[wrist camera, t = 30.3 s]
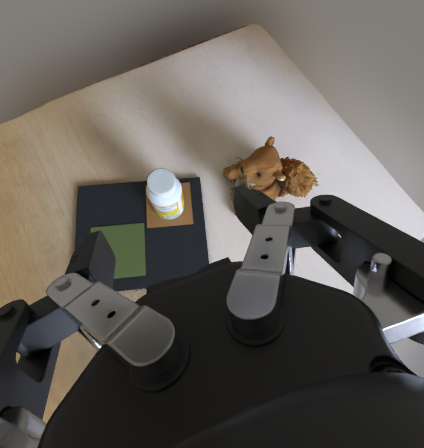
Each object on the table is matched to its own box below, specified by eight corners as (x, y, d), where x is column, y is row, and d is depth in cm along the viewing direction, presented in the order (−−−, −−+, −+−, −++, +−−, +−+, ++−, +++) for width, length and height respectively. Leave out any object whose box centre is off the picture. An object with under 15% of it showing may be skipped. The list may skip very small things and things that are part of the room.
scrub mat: (74, 296, 37) (71, 296, 37) (79, 187, 43) (77, 185, 42) (210, 280, 39) (210, 280, 38) (199, 178, 44) (199, 176, 44)
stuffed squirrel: (219, 170, 45) (226, 123, 32) (289, 164, 46) (323, 116, 34) (226, 219, 42) (238, 189, 30) (301, 211, 44) (342, 178, 31)
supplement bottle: (173, 225, 41) (165, 206, 31) (148, 209, 41) (133, 186, 32) (190, 201, 42) (187, 176, 33) (166, 186, 43) (156, 157, 33)
